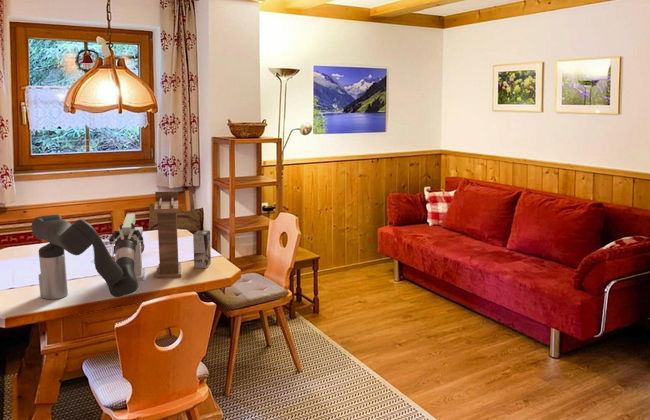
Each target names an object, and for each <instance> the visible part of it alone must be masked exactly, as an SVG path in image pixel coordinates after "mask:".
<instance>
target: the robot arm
mask: <svg viewBox="0 0 650 420" xmlns="http://www.w3.org/2000/svg"><path fill="white" fill-rule="evenodd" d="M122 226H123V223H121V224H119V228H120V229H119V228H118V230H119V231H118V230H114V232H113V233H112V234H111V236H109V239H108V243H109V245H112V246H113V245H114V244H115V245H116V255H115V254H114V255H115V259H114V258H113V256H112V255H111V253H110V252H109V250H108V249H107V246H106V245H105V243H104V241H103V240H102V238H101V237H100V235H99V233H98V232H97V230H96V229H95V228H94V226H92V225H91V224H90V223H89V222H87V221H86V220H84V219H80V218H79V219H77V220H76V221H75V222H73V223H71V222H69V221H66V220H63V218H62V216H61V215H59V214H49V215H40V216H37V217H34V218H33V220H32V222H31V226H30V227H31V232H32V234H33V236H34V237H35V238H36V239H37V240H39V241H40V240H42V241H45V242H48V243H47V244H45V245H43V246H41V247H40V248H39V249H38V259H39V269H40V270H39V271H40V273H39V274H38V284H39V285H38V286H39V294H40V296H39V297H40V298H41V299H42V298H43V299H45V300H59V299H63V298H65V297H67V296H68V295H69V293H68V292H69V291H68V290H69V289H68V280H67V279H68V278H67V267H66V255H65V254H66V253H65V251H67V252H68V253H69V254H70V255H72V256H73V255H74V256H80V255H82V254H83V253H84V252H85V251H87V249H89V248H90V247H91V246H92V247H93V248H92V249H93V262H94V263H93V264H94V268H95V270H96V272H97V274H98V275H99V276H100V277H101V278H102V279H103V280H104V281H105V283H106V285H107V287H108V291H109V294H110V295H111V296H112V297H114V298H122V297H125V296H127V295H131V294H134V293H135V292H137V290H138V289H139V281H137V279H136V276H135V272H134V263H135V258H136V255H135V254H136V245H137V243H139V242H140V243H144V237H143V234H142V235H141V233H140V232H139V230H135V227H136V226H135V224H133V223H131V232H130V233H129V235H123V232H122ZM118 235H120V238H118V239H117V240H116V238H117V237H118ZM134 235H136V236H137V240H136V239H135V238H134Z"/></svg>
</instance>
